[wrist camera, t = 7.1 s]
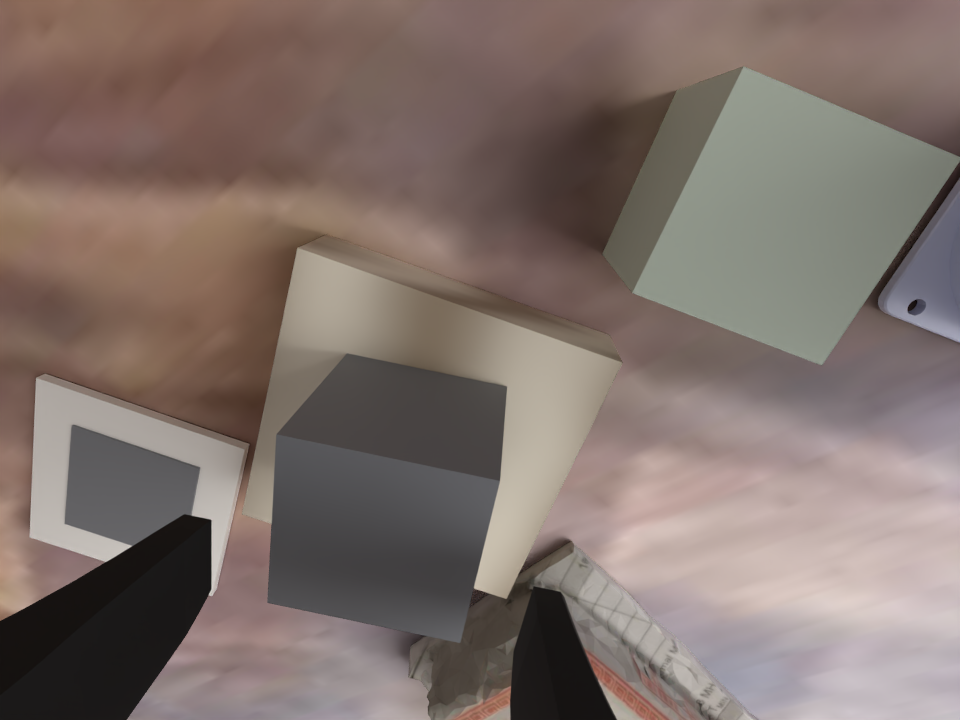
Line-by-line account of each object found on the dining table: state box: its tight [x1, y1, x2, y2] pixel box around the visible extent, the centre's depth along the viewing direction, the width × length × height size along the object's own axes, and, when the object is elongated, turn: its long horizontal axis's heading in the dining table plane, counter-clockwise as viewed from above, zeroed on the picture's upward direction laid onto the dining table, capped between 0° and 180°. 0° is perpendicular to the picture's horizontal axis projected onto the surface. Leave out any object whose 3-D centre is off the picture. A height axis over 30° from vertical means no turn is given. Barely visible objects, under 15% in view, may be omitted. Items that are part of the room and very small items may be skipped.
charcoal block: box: [267, 353, 507, 643], centre depth 15 cm, size 5×5×5 cm
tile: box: [30, 374, 250, 596], centre depth 22 cm, size 8×8×1 cm
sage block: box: [602, 66, 960, 365], centre depth 14 cm, size 5×5×5 cm
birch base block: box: [242, 234, 623, 599], centre depth 19 cm, size 10×10×3 cm
